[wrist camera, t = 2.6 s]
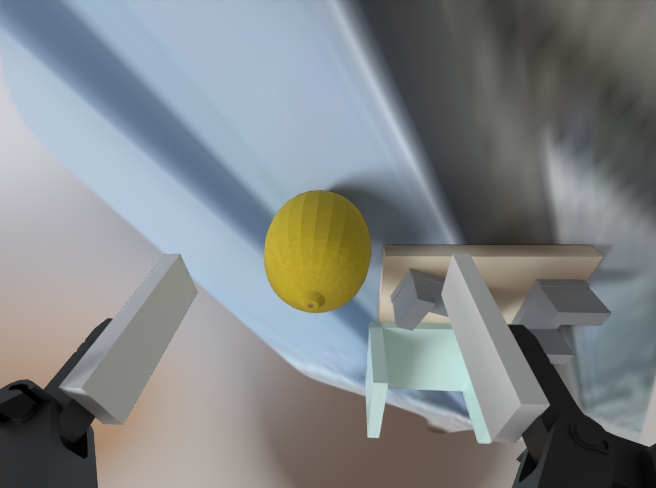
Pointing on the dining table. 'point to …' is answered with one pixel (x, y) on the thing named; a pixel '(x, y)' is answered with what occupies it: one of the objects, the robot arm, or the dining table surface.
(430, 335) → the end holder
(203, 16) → the dining table surface
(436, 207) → the dining table surface
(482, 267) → the board
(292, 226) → the lemon
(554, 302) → the clip
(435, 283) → the clip
